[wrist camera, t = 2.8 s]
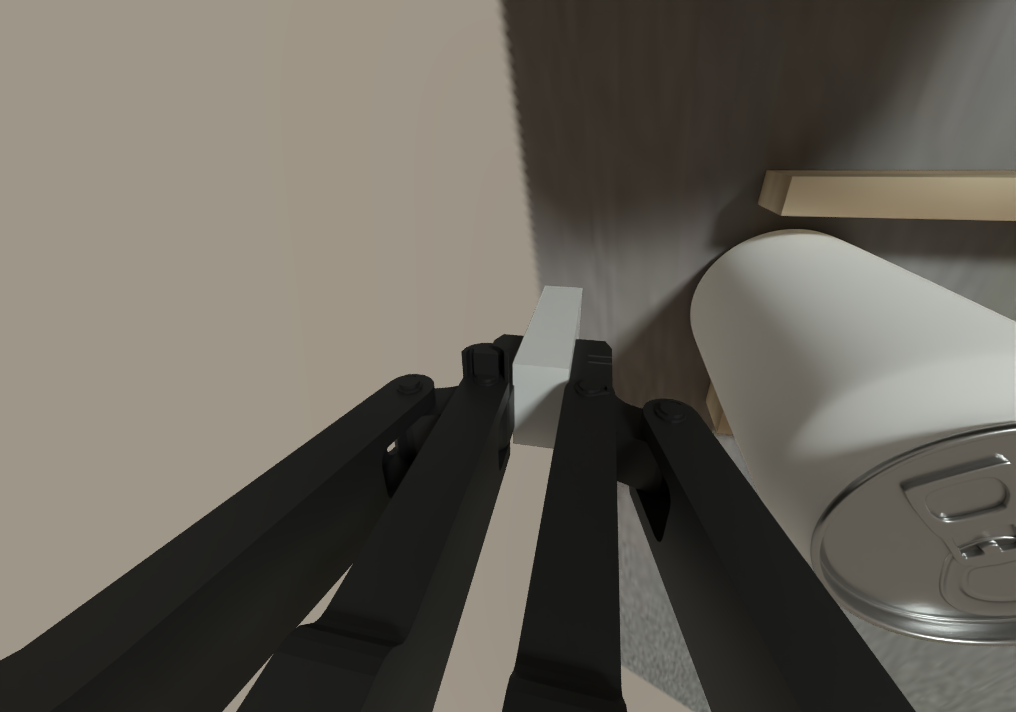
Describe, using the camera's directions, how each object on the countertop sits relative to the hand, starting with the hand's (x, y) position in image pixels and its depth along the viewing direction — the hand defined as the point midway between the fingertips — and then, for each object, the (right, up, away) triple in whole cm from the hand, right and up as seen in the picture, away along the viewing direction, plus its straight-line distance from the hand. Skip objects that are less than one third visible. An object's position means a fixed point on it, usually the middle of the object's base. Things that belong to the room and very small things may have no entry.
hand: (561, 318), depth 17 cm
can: (+9, +1, +1) cm, 9 cm away
